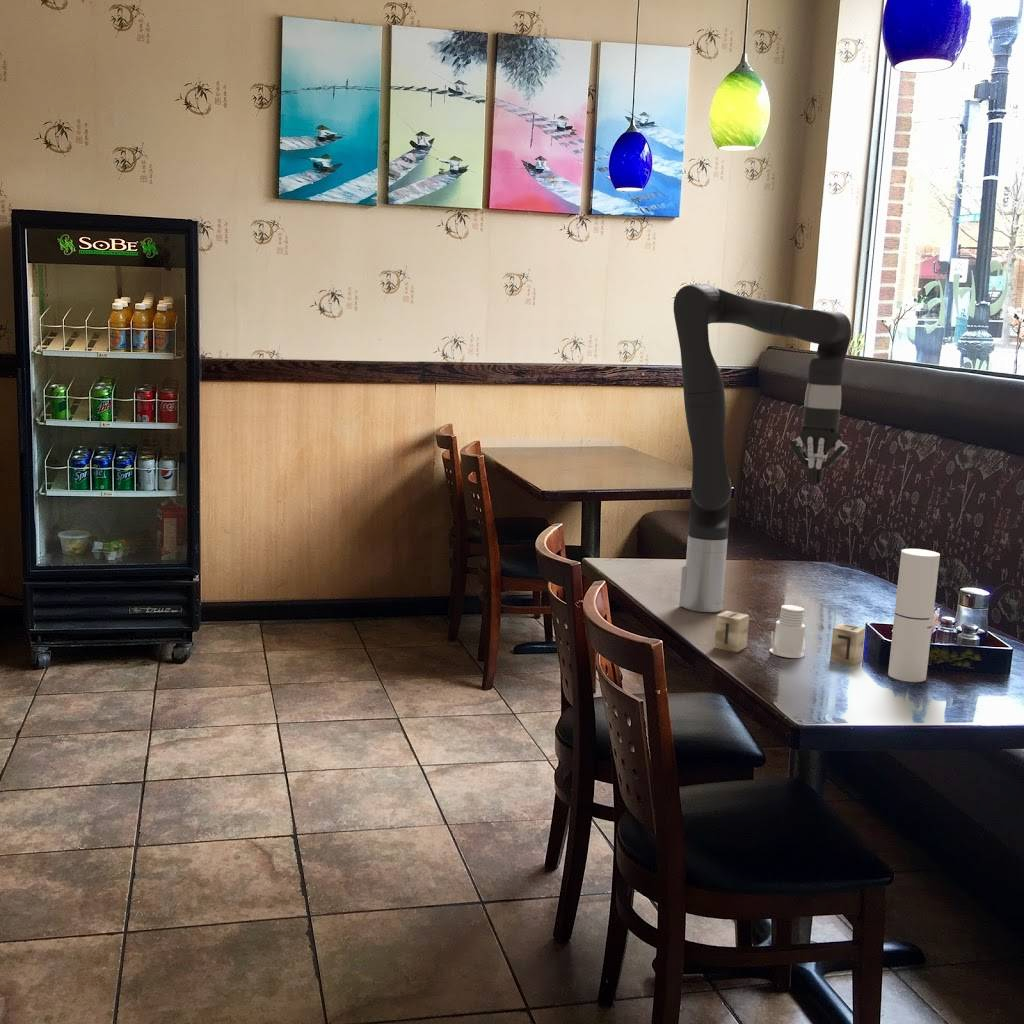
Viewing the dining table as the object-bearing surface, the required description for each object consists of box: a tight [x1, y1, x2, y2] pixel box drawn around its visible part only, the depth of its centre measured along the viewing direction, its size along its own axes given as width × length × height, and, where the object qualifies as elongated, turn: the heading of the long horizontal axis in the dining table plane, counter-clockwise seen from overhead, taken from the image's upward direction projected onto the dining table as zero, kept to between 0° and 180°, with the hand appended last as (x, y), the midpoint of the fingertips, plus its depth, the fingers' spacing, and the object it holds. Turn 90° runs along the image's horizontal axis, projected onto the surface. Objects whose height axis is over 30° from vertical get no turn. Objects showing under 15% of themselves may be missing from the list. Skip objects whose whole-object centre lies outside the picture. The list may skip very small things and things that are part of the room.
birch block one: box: [714, 610, 750, 653], centre depth 248 cm, size 5×5×7 cm
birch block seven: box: [829, 622, 866, 667], centre depth 243 cm, size 5×5×7 cm
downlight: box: [769, 604, 807, 659], centre depth 245 cm, size 8×7×10 cm
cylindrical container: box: [887, 548, 941, 683], centre depth 232 cm, size 7×7×25 cm
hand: (814, 485), depth 257 cm, fingers closed
